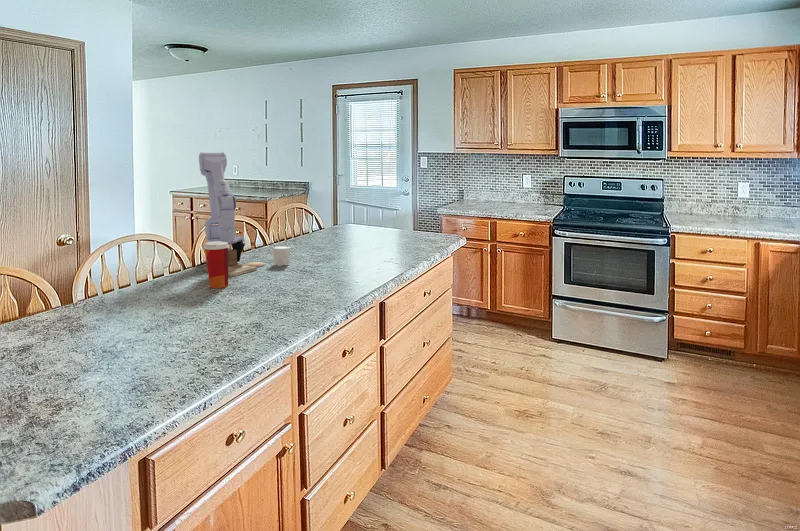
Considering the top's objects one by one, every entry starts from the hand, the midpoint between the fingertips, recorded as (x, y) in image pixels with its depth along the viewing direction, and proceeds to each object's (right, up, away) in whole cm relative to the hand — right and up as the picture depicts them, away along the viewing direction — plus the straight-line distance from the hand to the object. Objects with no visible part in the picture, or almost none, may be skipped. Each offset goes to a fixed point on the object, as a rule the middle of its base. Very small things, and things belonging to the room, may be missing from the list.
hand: (229, 263), depth 217 cm
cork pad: (+7, -1, +10) cm, 12 cm away
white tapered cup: (+17, -1, +12) cm, 21 cm away
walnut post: (0, -3, +1) cm, 3 cm away
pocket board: (0, -3, +1) cm, 3 cm away
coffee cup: (+3, -8, -23) cm, 24 cm away
